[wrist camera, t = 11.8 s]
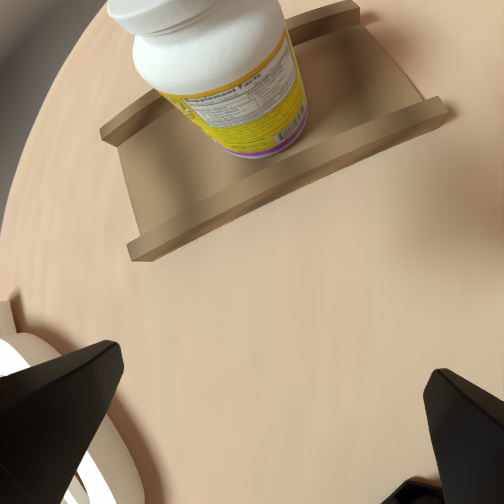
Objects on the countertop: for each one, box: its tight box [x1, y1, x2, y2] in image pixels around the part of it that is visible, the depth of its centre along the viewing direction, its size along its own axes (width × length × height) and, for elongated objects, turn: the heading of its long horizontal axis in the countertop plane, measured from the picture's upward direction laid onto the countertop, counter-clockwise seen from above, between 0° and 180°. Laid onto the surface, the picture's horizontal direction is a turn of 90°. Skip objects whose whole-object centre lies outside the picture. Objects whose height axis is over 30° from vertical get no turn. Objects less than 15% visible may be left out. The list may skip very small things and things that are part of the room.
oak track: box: [100, 0, 449, 262], centre depth 18 cm, size 22×11×2 cm, turn 114°
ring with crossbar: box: [0, 301, 145, 504], centre depth 23 cm, size 28×28×5 cm
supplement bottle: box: [107, 0, 308, 159], centre depth 12 cm, size 7×7×13 cm
